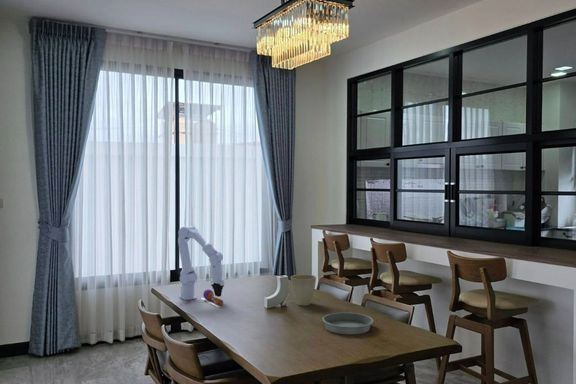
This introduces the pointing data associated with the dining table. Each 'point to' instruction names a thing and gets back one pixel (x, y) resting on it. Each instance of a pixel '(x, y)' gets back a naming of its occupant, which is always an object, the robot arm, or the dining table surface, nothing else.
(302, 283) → the plant pot
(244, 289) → the dining table surface
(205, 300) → the strip
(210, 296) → the kendama
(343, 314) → the cake pan
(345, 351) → the dining table surface
